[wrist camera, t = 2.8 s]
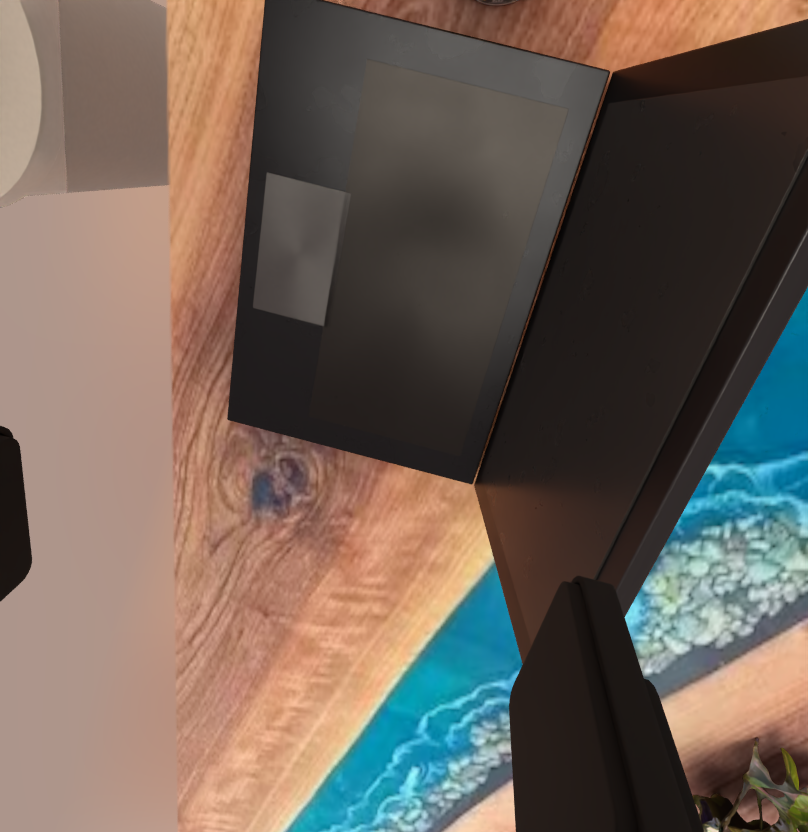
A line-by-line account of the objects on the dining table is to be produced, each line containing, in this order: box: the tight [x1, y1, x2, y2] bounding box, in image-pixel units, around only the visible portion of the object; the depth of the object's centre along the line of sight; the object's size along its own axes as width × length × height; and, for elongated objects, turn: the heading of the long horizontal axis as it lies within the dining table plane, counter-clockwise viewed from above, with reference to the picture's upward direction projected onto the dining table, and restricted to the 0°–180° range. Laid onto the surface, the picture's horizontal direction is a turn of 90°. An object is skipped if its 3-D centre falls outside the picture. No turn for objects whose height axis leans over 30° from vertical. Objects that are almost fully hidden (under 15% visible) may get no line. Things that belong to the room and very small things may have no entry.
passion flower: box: [693, 738, 808, 832], centre depth 43 cm, size 11×11×12 cm
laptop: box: [227, 0, 610, 484], centre depth 32 cm, size 17×24×2 cm
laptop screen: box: [474, 19, 808, 663], centre depth 24 cm, size 17×24×1 cm
